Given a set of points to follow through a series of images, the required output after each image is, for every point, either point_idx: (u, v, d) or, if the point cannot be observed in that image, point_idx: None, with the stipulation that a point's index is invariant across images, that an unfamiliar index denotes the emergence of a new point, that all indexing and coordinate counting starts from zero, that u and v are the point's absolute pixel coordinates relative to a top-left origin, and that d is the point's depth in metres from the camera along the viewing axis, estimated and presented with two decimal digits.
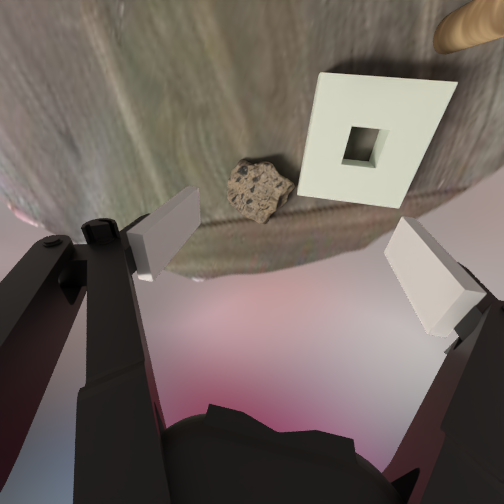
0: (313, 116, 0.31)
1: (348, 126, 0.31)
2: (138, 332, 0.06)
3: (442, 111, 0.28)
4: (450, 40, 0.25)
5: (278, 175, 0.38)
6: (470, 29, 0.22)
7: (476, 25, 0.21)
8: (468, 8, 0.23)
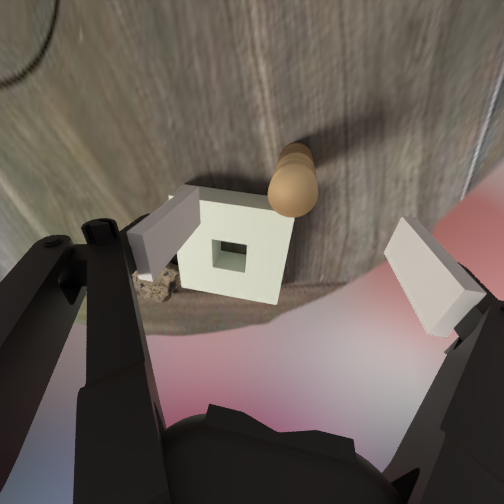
0: None
1: (208, 238, 0.31)
2: (138, 332, 0.06)
3: (289, 234, 0.29)
4: None
5: None
6: None
7: None
8: (277, 164, 0.23)
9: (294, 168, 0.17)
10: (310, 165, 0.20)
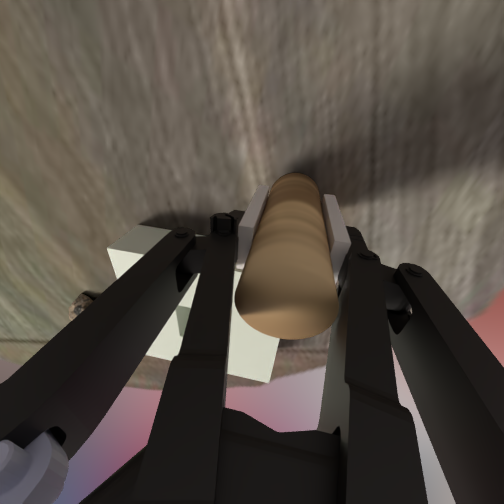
0: None
1: None
2: (228, 325, 0.07)
3: None
4: None
5: None
6: None
7: None
8: (261, 217, 0.14)
9: (287, 262, 0.08)
10: (319, 234, 0.11)
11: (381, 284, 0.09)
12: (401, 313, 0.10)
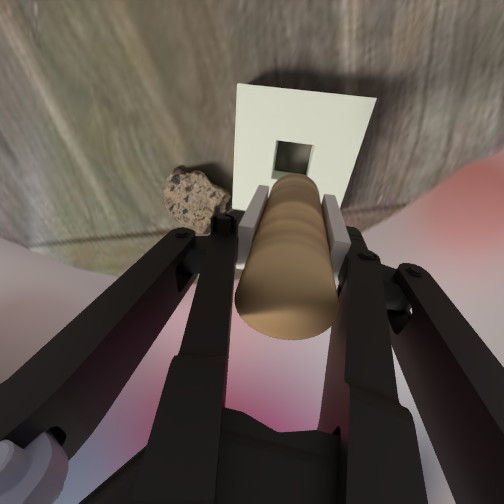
0: (236, 128, 0.30)
1: (273, 140, 0.30)
2: (228, 325, 0.07)
3: (364, 127, 0.27)
4: None
5: (211, 185, 0.36)
6: None
7: None
8: (261, 218, 0.14)
9: (288, 263, 0.08)
10: (319, 234, 0.11)
11: (381, 284, 0.09)
12: (401, 313, 0.10)
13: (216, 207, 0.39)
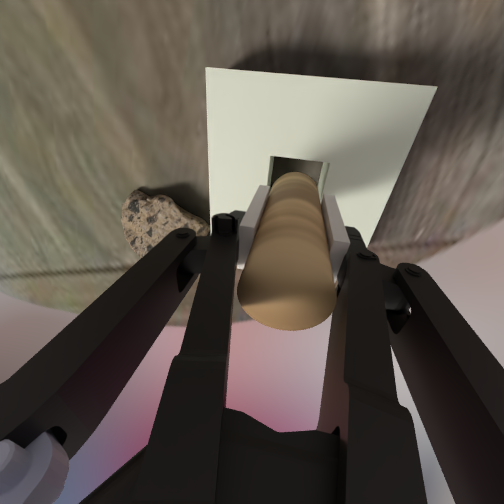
0: (209, 139, 0.19)
1: (265, 155, 0.19)
2: (228, 325, 0.07)
3: (412, 136, 0.17)
4: None
5: (181, 215, 0.26)
6: None
7: None
8: (262, 215, 0.14)
9: (288, 255, 0.08)
10: (318, 230, 0.11)
11: (380, 284, 0.09)
12: (400, 313, 0.10)
13: None
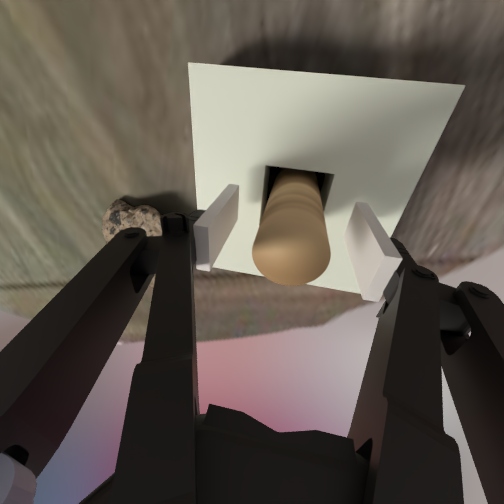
0: (195, 146, 0.17)
1: (259, 165, 0.17)
2: (191, 324, 0.06)
3: (432, 143, 0.14)
4: None
5: None
6: None
7: None
8: (269, 197, 0.16)
9: (292, 219, 0.11)
10: (317, 205, 0.13)
11: (437, 305, 0.08)
12: (458, 335, 0.09)
13: None
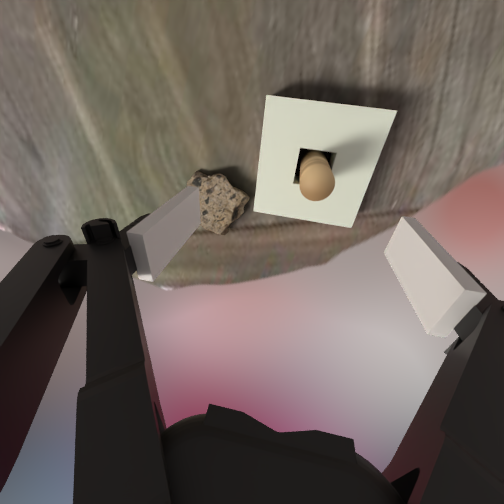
0: (263, 136, 0.32)
1: (297, 147, 0.32)
2: (138, 332, 0.06)
3: (384, 137, 0.29)
4: None
5: (231, 187, 0.38)
6: None
7: None
8: (302, 164, 0.31)
9: (319, 166, 0.26)
10: (328, 165, 0.28)
11: None
12: None
13: (235, 209, 0.40)
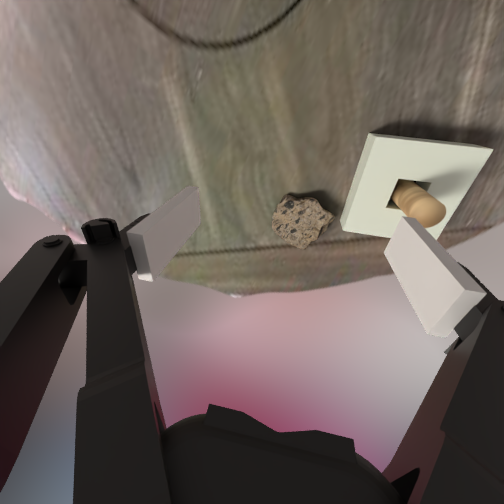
0: (365, 169, 0.36)
1: (395, 178, 0.36)
2: (138, 332, 0.06)
3: (478, 170, 0.34)
4: (394, 201, 0.39)
5: (322, 209, 0.43)
6: (401, 209, 0.36)
7: (403, 210, 0.35)
8: (401, 193, 0.36)
9: (434, 200, 0.30)
10: (432, 196, 0.33)
11: None
12: None
13: (321, 227, 0.45)
